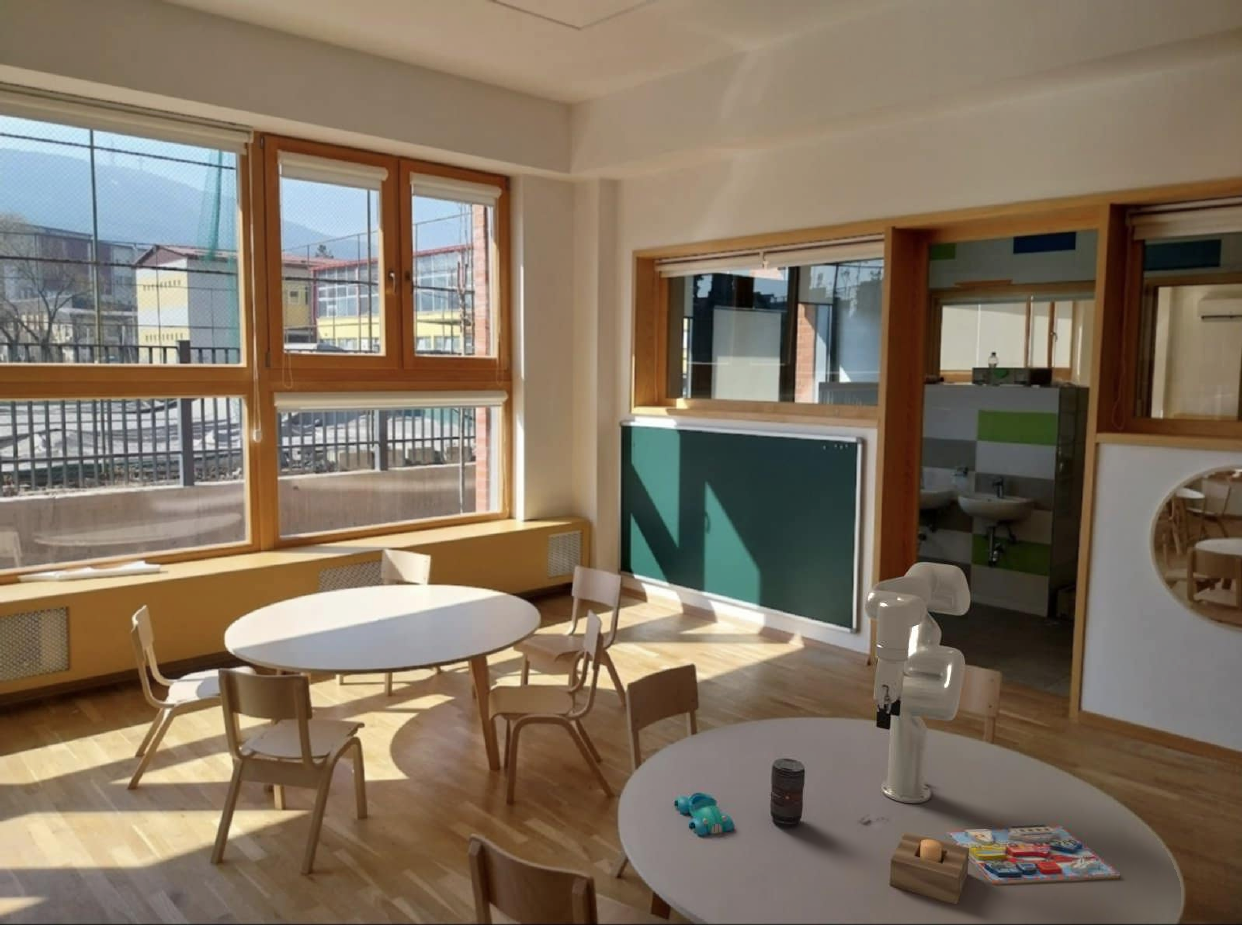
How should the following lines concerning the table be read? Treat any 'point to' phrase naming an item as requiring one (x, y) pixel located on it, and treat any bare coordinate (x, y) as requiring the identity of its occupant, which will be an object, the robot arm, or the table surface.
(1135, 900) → the table surface
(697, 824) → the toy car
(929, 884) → the socket block
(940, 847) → the peg
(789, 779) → the camera lens
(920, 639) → the robot arm
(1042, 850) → the puzzle board
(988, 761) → the table surface
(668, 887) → the table surface
